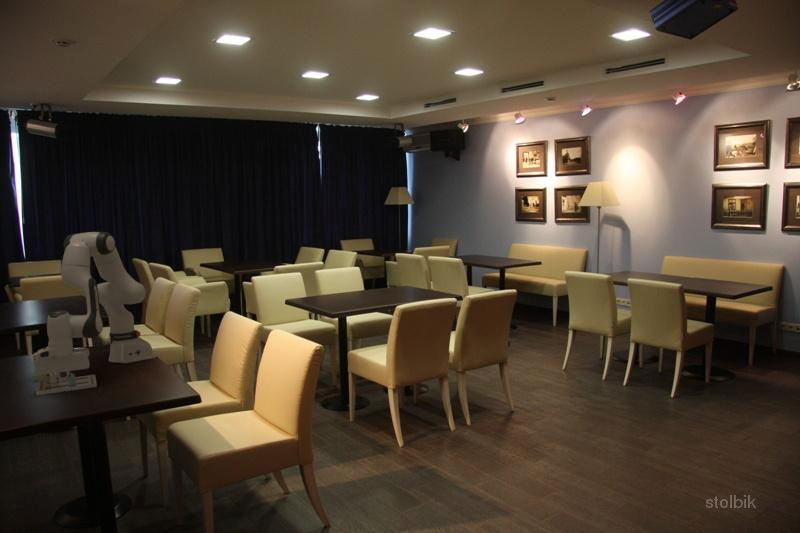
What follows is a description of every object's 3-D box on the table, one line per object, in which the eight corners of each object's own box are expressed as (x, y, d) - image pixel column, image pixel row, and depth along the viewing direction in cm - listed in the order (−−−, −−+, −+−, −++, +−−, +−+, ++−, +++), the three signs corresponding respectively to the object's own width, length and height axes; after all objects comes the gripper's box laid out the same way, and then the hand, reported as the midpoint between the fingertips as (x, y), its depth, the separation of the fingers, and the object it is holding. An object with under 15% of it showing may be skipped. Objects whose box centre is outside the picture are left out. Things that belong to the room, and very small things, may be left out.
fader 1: (57, 380, 261) (56, 370, 260) (56, 382, 257) (56, 372, 256) (50, 381, 260) (49, 371, 259) (50, 383, 256) (49, 373, 255)
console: (95, 378, 269) (95, 373, 269) (96, 386, 256) (96, 381, 256) (38, 386, 259) (37, 381, 258) (36, 395, 246) (36, 390, 245)
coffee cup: (48, 382, 264) (45, 355, 262) (29, 381, 266) (27, 355, 264) (63, 376, 273) (61, 350, 272) (46, 375, 275) (43, 349, 273)
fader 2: (75, 382, 257) (74, 372, 257) (75, 385, 253) (74, 374, 253) (69, 383, 256) (68, 373, 255) (69, 386, 252) (68, 375, 252)
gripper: (88, 345, 259) (91, 376, 261) (33, 351, 250) (36, 383, 251) (89, 348, 254) (91, 379, 255) (32, 354, 244) (35, 387, 246)
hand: (63, 381), depth 253 cm, fingers closed
